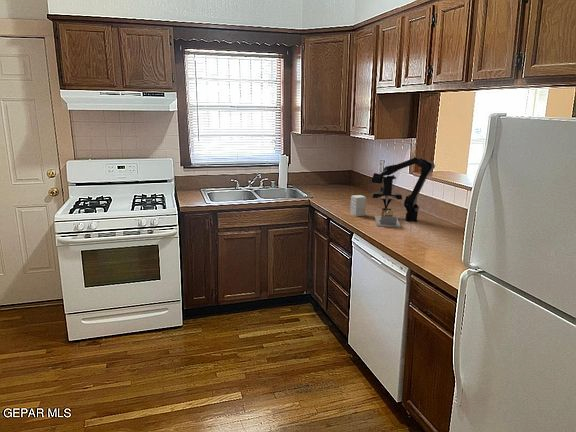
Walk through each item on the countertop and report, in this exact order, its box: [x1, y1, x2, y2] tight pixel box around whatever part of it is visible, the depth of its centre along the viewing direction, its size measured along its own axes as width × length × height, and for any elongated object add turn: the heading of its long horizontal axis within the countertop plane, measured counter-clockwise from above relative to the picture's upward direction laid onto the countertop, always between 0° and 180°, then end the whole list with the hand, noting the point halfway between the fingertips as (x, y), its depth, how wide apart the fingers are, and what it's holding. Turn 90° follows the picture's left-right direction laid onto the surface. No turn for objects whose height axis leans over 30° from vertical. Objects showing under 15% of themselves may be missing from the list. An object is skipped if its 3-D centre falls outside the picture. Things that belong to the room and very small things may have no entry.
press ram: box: [380, 207, 394, 216], centre depth 280 cm, size 7×8×5 cm
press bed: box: [374, 215, 401, 228], centre depth 274 cm, size 14×22×6 cm, turn 172°
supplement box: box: [349, 194, 367, 217], centre depth 290 cm, size 7×7×13 cm
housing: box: [384, 211, 394, 217], centre depth 268 cm, size 5×5×7 cm
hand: (385, 208), depth 289 cm, fingers closed
